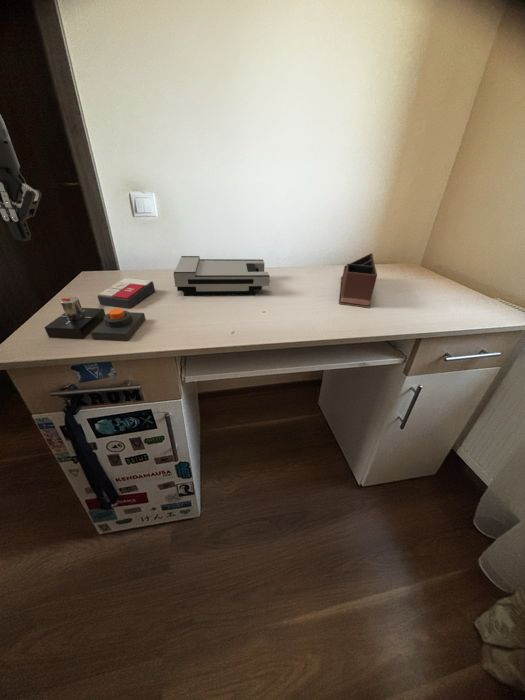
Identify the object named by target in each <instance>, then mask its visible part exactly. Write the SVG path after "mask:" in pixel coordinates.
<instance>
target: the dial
mask: <svg viewBox="0 0 525 700" xmlns="http://www.w3.org/2000/svg"><path fill="white" fill-rule="evenodd" d="M60 304H61V308H62V309H63V312H64V313H65V315H66V317H67V319H68V320H72V321H73V320H79V319H81V318H83V317H84V313H83V310H82V308H83V307H82V305H81V302H80V300H79V297H78V296H67V297H61V300H60Z"/></svg>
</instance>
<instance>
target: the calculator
mask: <svg viewBox="0 0 525 700" xmlns="http://www.w3.org/2000/svg"><path fill="white" fill-rule="evenodd" d="M154 292H156V289H155V284H154V281H152V280H145V279H137V278H128V277H125V278H123V279H122V280H120V281H117V282H116V283H114V284H112V285H111V286H109V287H108V288H106V289H105V290H103V291H101V292H100V293H98V295H97V296H96V297H97V300H98V302H99V304H100V306H101V305H102V306H109V307H116V308H121V309H132V308H134V306H136V305H137V304H139V302H141V301H142V300H143V299H145V298H146V297H147V296H151V295H153V293H154Z"/></svg>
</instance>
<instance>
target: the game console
mask: <svg viewBox="0 0 525 700" xmlns="http://www.w3.org/2000/svg"><path fill="white" fill-rule="evenodd" d="M179 258H180V259H179V260H178V263H177V265H176V267H175V268H174V271H173V280H174V287H176V290H177V292H183V297H203V296H204V297H206V296H209V297H210V296H256V291H262V290H263V287H270V280H271V276H270V274H269V271H265V265H266V264H265V261H264V259H256V258H255V259H253V258H251V259H249V258H248V259H239V258H237V259H236V258H235V259H231V258H230V259H228V258H227V259H226V258H225V259H224V258H223V259H222V258H220V259H219V258H215V259H213V258H212V259H210V258H209V259H208V258H203V259H202V258H201V257H200V256H199V255H181V256H180V257H179Z"/></svg>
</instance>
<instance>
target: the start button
mask: <svg viewBox="0 0 525 700" xmlns="http://www.w3.org/2000/svg"><path fill="white" fill-rule="evenodd" d="M124 311H125V310H124V308H113V309H110V310H109V311H108V313H109V315H110V319H113V320H116V319H121V318H124V317H125V314H124Z"/></svg>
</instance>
